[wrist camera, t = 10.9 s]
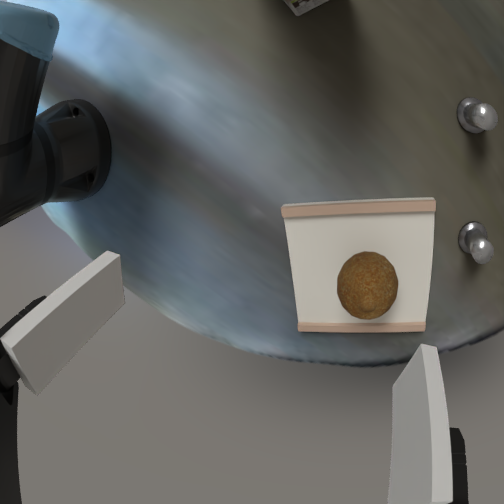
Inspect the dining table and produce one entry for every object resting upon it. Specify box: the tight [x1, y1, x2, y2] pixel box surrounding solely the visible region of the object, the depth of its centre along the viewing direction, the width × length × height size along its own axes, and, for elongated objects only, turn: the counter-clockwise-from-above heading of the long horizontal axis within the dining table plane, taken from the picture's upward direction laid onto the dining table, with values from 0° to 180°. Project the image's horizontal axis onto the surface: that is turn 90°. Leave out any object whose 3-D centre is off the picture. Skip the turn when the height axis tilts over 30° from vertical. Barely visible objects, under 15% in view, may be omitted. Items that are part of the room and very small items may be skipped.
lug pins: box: [457, 98, 498, 264], centre depth 24 cm, size 4×17×4 cm, turn 10°
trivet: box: [281, 197, 436, 332], centre depth 33 cm, size 16×16×1 cm
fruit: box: [337, 251, 398, 320], centre depth 29 cm, size 6×6×8 cm
